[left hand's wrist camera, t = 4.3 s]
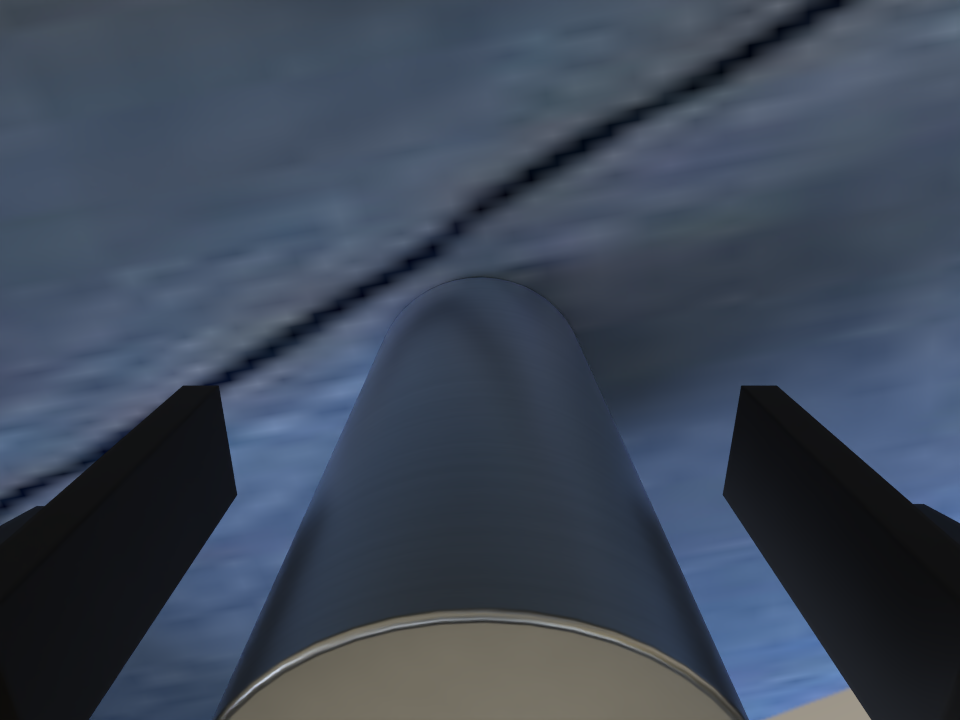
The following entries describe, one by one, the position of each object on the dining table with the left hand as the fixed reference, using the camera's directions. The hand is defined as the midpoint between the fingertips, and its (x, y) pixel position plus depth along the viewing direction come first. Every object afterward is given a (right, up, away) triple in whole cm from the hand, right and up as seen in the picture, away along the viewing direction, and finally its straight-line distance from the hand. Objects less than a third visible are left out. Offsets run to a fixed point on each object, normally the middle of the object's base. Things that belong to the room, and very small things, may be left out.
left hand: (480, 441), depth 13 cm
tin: (0, +1, +3) cm, 4 cm away
